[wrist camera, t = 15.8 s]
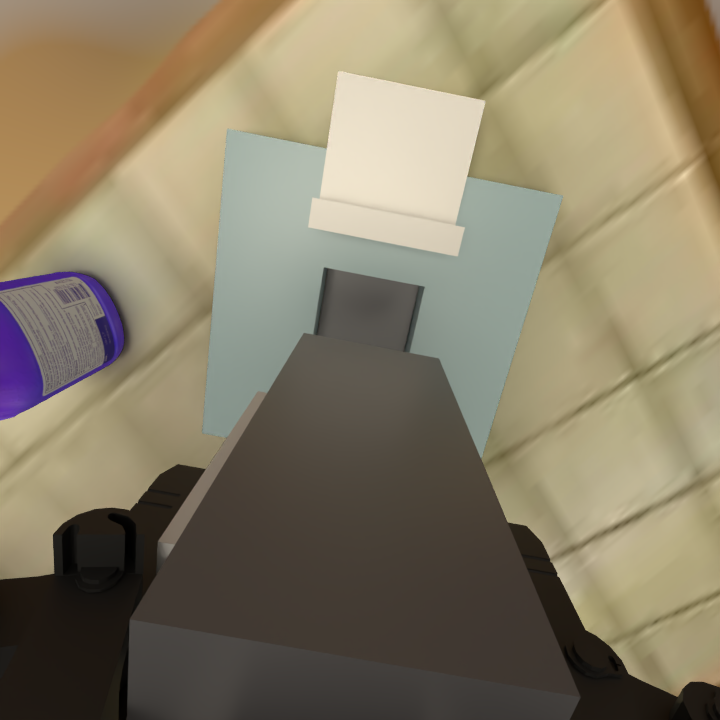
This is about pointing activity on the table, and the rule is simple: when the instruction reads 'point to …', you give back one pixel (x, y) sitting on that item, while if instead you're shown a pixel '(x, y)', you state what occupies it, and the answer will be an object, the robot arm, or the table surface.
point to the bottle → (53, 336)
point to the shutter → (396, 163)
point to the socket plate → (363, 283)
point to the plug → (348, 565)
